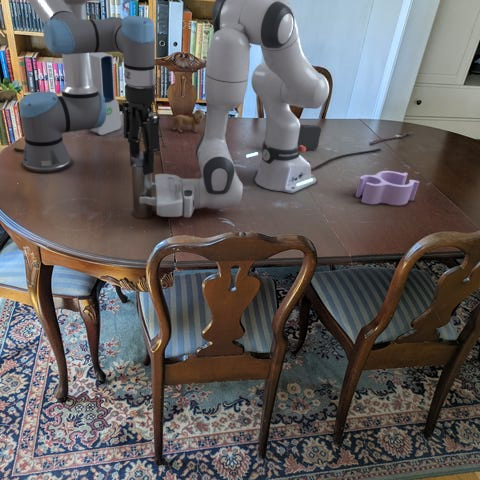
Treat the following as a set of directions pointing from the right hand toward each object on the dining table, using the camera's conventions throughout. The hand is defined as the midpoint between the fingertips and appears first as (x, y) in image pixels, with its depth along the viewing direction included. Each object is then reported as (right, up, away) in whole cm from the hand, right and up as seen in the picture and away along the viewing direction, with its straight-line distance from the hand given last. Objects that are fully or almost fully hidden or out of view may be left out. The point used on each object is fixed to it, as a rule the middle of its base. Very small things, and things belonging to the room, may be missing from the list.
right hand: (139, 193), depth 134 cm
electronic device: (-27, +32, +57) cm, 70 cm away
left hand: (+2, +7, -4) cm, 8 cm away
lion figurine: (+6, +33, +65) cm, 73 cm away
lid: (+2, +10, -6) cm, 12 cm away
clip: (+79, +1, +28) cm, 83 cm away
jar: (0, -5, +4) cm, 7 cm away
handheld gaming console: (+50, +24, +57) cm, 80 cm away
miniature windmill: (-5, +22, +45) cm, 51 cm away
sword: (+98, +33, +79) cm, 130 cm away
